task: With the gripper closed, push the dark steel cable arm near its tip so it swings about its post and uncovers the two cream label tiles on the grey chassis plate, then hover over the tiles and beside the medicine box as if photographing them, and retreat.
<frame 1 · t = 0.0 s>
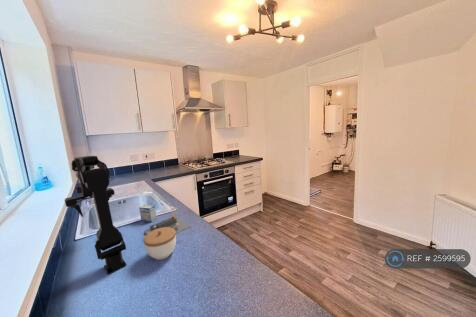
hand: (94, 213, 95), 15 cm above the worktop, fingers open, 9 cm apart
lidded bowl: (162, 254, 83), on the worktop
chassis plate: (167, 229, 103), on the worktop
medicine box: (149, 220, 116), on the worktop
cable arm: (163, 223, 102), point 4 cm above the worktop, hinge at 0.0°
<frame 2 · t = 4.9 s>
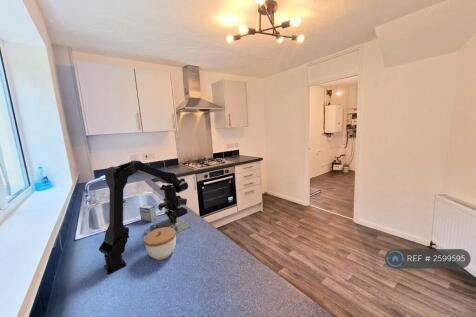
hand: (174, 223, 103), 3 cm above the worktop, fingers closed
cable arm: (163, 223, 102), point 4 cm above the worktop, hinge at 0.0°, touching gripper
everything else where it was.
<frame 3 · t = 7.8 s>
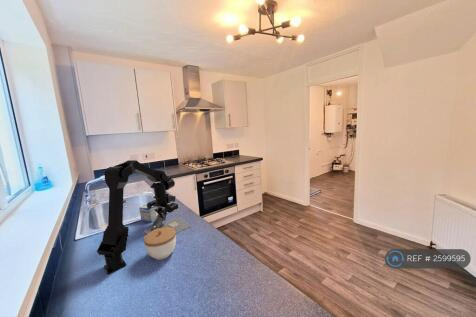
hand: (164, 220, 107), 3 cm above the worktop, fingers closed
cable arm: (157, 223, 103), point 4 cm above the worktop, hinge at 49.3°, touching gripper
everything else where it was.
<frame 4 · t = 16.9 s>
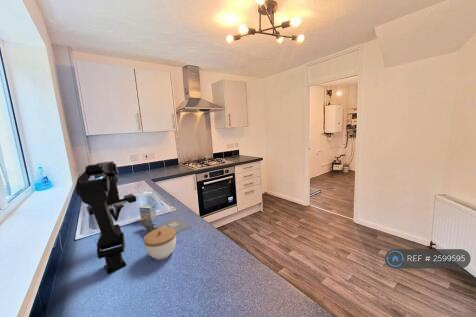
hand: (116, 220, 91), 12 cm above the worktop, fingers closed
cable arm: (148, 225, 101), point 4 cm above the worktop, hinge at 92.3°
everything else where it was.
at the end: cable arm at +92° (first picture: +0°); medicine box moved 0.3 cm from its start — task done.
